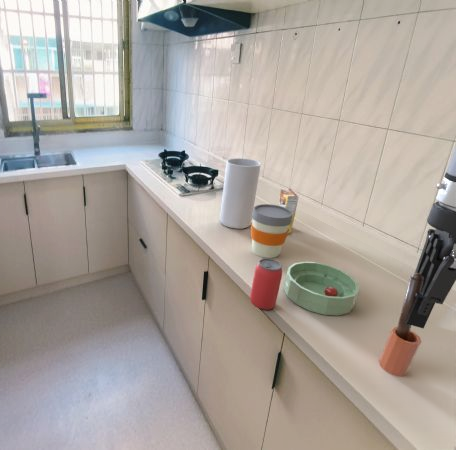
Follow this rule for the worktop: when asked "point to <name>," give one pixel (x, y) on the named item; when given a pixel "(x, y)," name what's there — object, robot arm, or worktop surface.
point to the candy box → (288, 203)
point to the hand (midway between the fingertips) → (413, 320)
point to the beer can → (266, 284)
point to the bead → (331, 291)
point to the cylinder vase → (239, 192)
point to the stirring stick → (409, 304)
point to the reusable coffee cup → (269, 229)
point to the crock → (399, 353)
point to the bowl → (320, 288)
